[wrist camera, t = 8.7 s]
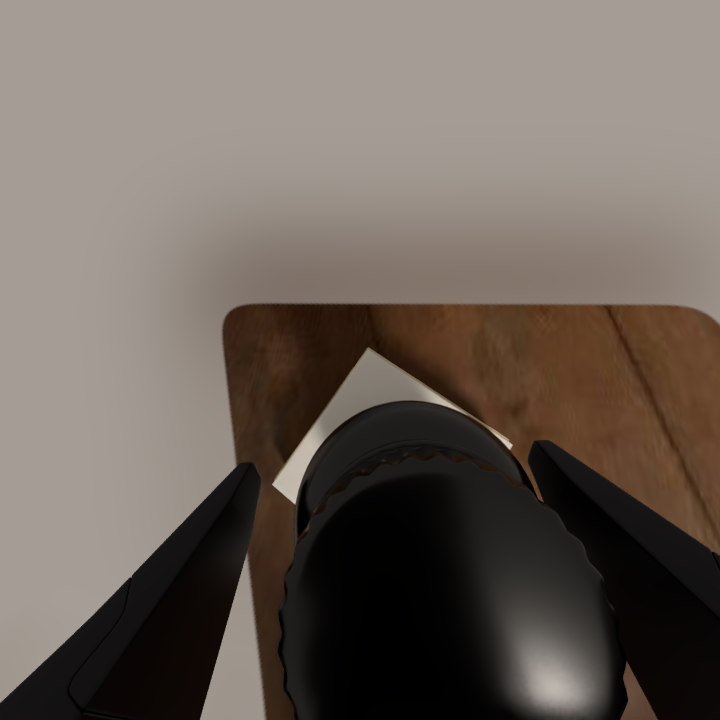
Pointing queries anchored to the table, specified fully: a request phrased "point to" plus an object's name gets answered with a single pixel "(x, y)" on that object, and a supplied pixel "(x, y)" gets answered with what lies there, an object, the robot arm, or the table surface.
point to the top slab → (355, 411)
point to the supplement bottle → (439, 583)
